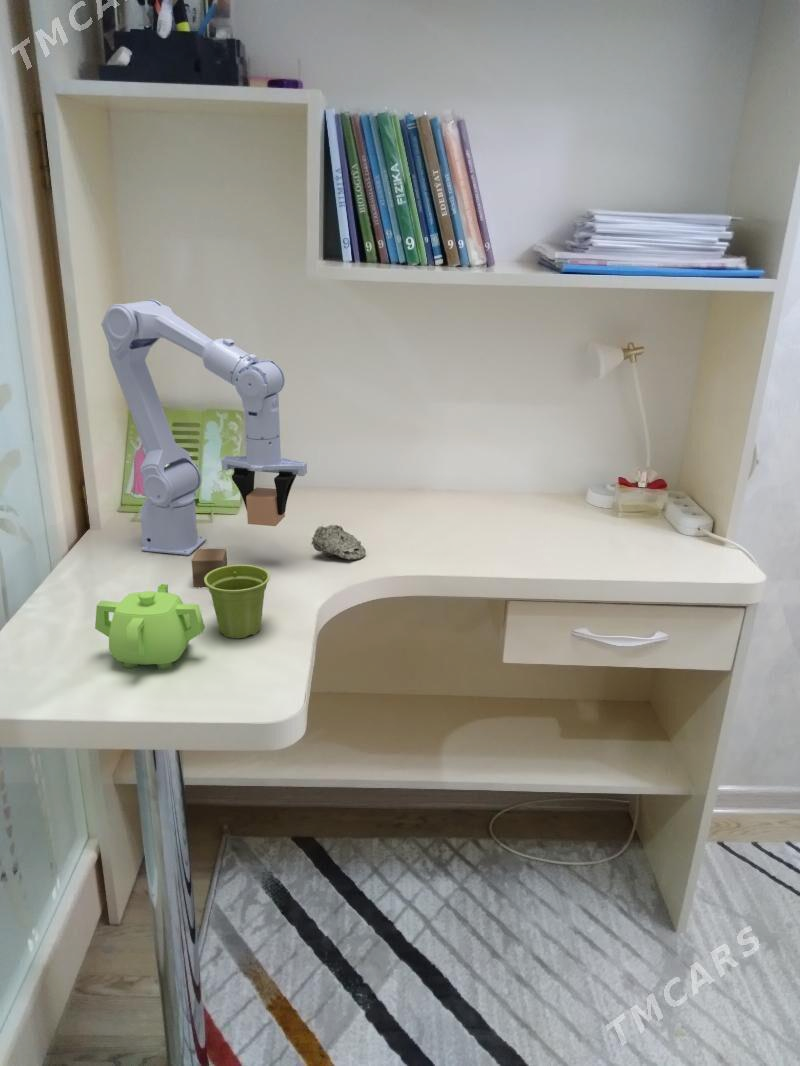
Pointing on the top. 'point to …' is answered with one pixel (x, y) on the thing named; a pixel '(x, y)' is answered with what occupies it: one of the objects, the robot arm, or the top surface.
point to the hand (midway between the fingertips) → (266, 511)
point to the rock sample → (337, 542)
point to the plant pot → (238, 598)
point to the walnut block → (207, 564)
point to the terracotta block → (263, 507)
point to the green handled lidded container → (149, 627)
